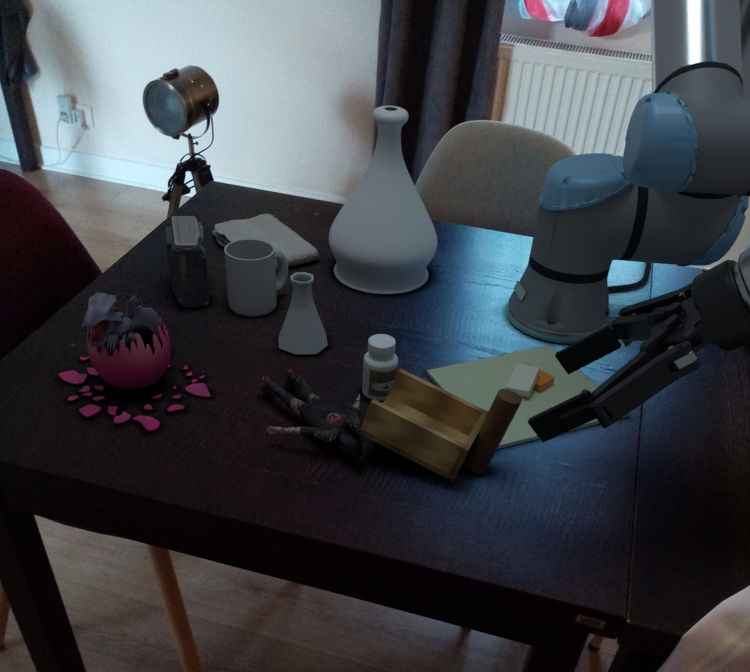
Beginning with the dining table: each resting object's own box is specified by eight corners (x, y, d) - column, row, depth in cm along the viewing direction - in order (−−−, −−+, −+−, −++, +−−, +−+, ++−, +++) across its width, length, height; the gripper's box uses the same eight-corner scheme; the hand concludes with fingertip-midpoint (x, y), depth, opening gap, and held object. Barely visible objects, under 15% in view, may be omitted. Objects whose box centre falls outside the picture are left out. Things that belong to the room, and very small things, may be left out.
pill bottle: (371, 405, 100) (374, 352, 95) (356, 387, 103) (358, 335, 98) (401, 397, 102) (406, 345, 96) (385, 380, 104) (389, 329, 99)
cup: (219, 302, 118) (214, 245, 112) (275, 286, 123) (273, 230, 117) (245, 322, 114) (241, 264, 108) (301, 304, 119) (300, 248, 113)
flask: (321, 360, 107) (321, 293, 101) (270, 352, 108) (267, 285, 102) (333, 334, 113) (335, 269, 106) (285, 327, 114) (283, 262, 107)
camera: (211, 308, 117) (205, 244, 110) (171, 310, 116) (163, 245, 109) (207, 274, 125) (201, 212, 118) (170, 276, 124) (162, 213, 117)
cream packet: (539, 367, 102) (540, 373, 103) (516, 362, 104) (516, 369, 105) (528, 391, 100) (529, 397, 101) (505, 386, 102) (505, 393, 103)
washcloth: (268, 224, 141) (267, 207, 139) (322, 262, 130) (322, 244, 128) (207, 237, 135) (206, 220, 133) (259, 278, 125) (258, 260, 123)
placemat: (549, 348, 113) (549, 344, 113) (626, 417, 101) (628, 413, 101) (426, 373, 106) (426, 369, 106) (493, 450, 94) (494, 446, 94)
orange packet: (528, 363, 106) (527, 370, 107) (514, 371, 104) (512, 379, 105) (555, 376, 104) (553, 384, 105) (540, 385, 102) (539, 393, 103)
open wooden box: (358, 433, 89) (386, 359, 83) (388, 398, 97) (415, 328, 91) (474, 492, 87) (511, 421, 81) (495, 451, 95) (530, 384, 89)
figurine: (320, 342, 101) (415, 414, 89) (321, 381, 105) (412, 455, 93) (227, 371, 95) (315, 452, 83) (231, 411, 99) (316, 495, 86)
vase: (315, 287, 123) (315, 117, 107) (344, 243, 136) (348, 86, 120) (422, 304, 121) (440, 133, 104) (442, 258, 134) (460, 99, 117)
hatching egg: (39, 373, 102) (12, 276, 93) (152, 335, 110) (137, 242, 101) (113, 448, 91) (91, 346, 82) (232, 399, 99) (224, 302, 90)
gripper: (736, 209, 76) (553, 314, 90) (725, 325, 59) (500, 433, 72) (772, 272, 79) (588, 365, 92) (772, 401, 61) (545, 492, 74)
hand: (549, 395), depth 82 cm, fingers open, 13 cm apart
